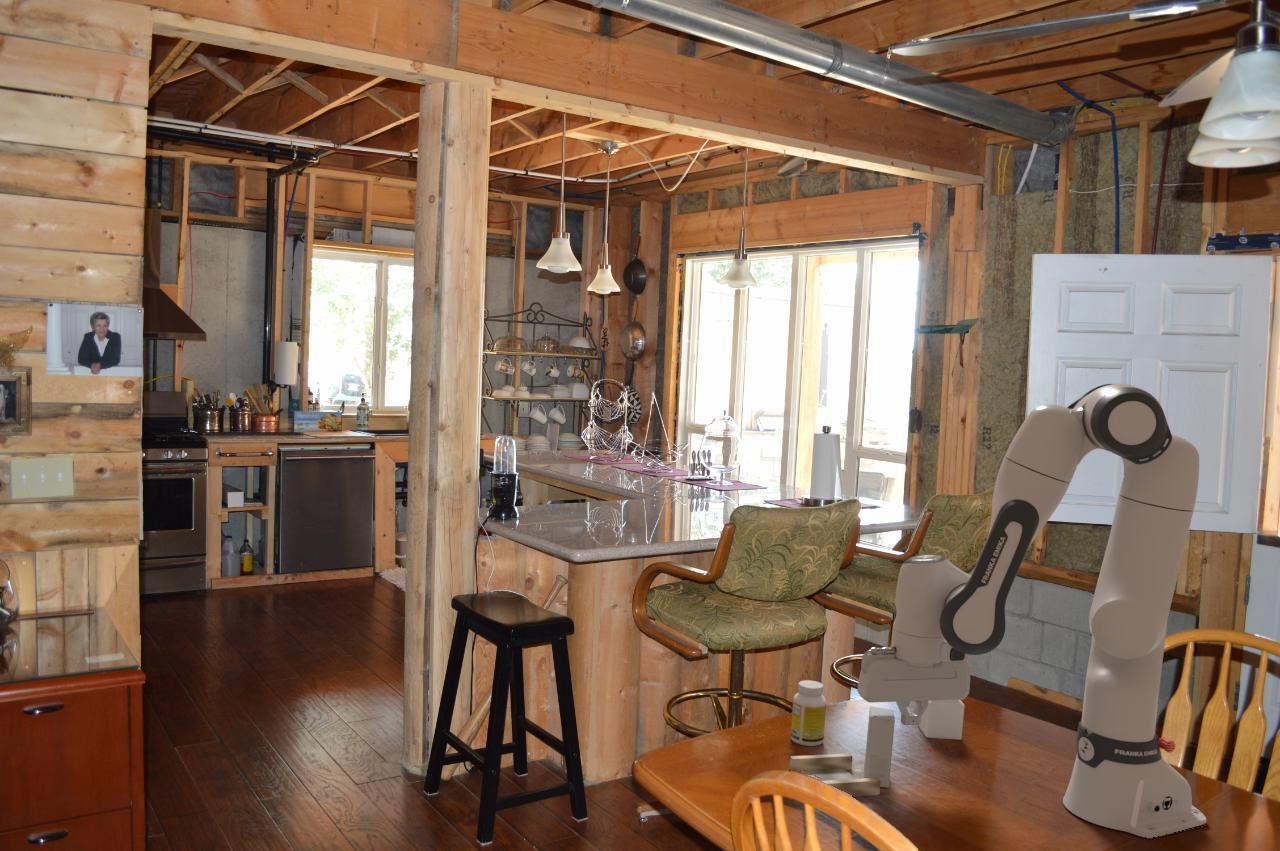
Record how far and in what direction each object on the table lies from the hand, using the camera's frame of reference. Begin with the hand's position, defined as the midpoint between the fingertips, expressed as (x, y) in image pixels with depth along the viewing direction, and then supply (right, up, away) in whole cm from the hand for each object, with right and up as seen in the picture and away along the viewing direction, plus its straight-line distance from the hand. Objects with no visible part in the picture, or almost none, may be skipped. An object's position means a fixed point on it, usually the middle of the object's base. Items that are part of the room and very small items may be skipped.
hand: (910, 724), depth 179 cm
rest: (-14, -9, -3) cm, 17 cm away
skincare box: (-6, -10, -1) cm, 12 cm away
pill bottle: (-16, -8, +15) cm, 23 cm away
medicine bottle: (+12, -9, +24) cm, 28 cm away
